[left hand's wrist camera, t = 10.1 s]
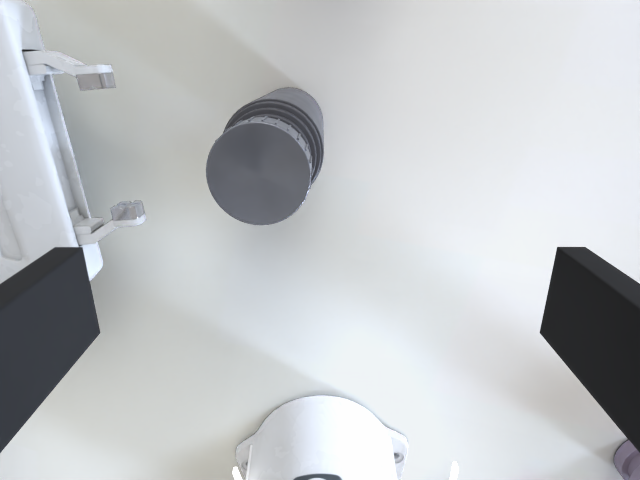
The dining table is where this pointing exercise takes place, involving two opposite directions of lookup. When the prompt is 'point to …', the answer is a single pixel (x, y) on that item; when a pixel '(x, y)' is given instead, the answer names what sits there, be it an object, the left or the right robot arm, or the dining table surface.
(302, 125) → the track spotlight head
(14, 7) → the right robot arm
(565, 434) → the dining table surface
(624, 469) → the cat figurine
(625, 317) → the left robot arm
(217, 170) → the cap
